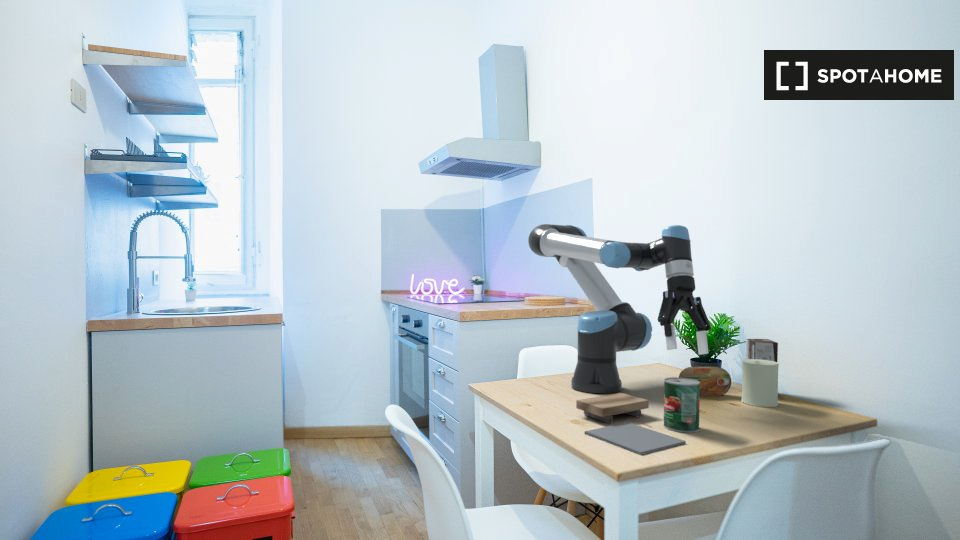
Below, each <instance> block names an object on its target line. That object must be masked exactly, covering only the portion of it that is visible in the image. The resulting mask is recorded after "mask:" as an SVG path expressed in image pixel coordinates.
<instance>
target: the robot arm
mask: <svg viewBox="0 0 960 540" xmlns="http://www.w3.org/2000/svg"><path fill="white" fill-rule="evenodd" d="M527 243H528V246H529V248H530V250H531V252H532V253H533V254H535V255H537V256H540V257H547V258H549V257H550V258H555V259H556V260H557V262H558V264H559V265H560V266H561V267H563V268H567V270H568V271H569V272H570V274H571V275H572V277H573V278H574V279H575V281H576V283H577V284H578V286H579V287H580V288H581V290H582V291H583V293H584V294H585V296H586V297H587V299H588V300H589V302H590V303H591V304H592V306H593V308H594V309H595V310H592V311H587V312H584V313H582V314H580V315H579V317H578V321H577V323H578V324H577V362H576V366H575V369H574V373H573V376H572V378H571V385H570V386H571V389H573V390H576V391H578V392H583V393H584V392H585V393H591V394H616V393H620V392H621V391H622V389H623V383H622V380H621V379H620V375H619V374H620V372H619V369H618V367H617V353H619V352H629V351H631V352H633V351H637V350H641V349H644V348H645V347H647V346H648V344H649V343H650V341H651V339H652V336H653V335H652V332H653V327H652V323H651V320H650V319H649V317H648V316H646V314H644V313H641V312H636V310H635V309H634V308H633V307H632V305H631V304H630V303H629V302H627V301H625V302H624V301H623V300H622V299H620V297H619V295H618V294H617V293H616V291H615V290H614V289H613V287H612V286H611V284H610V283H609V282H608V280H607V278H606V277H605V276H604V275H603V274H602V272H601V270H600V269H599V268H598V266H597V265H596V264H595V263H597V264H600V265H604V266H606V267H607V268H614V269H621V268H622V269H624V268H628V269H629V268H630V269H634V270H635V271H637V272H643V271H648V270H650V269H654V268H657V267H659V266H662V265H664V267H665V270H664V271H665V278H666V279H667V280H666V285H667V287H666V289H667V290H665V291H663V292H662V301H661V304H660V305H661V306H660V309H659V312H658V316H657V322H659V325H660V326H661V327H662V326H663V330H664V336H665V341H666V342H665V344H666V350H667V351H671V350H677V349H678V345H677V343H678V342H677V337H676V336H677V335H676V326H675V324H673V322H674V320H676V319H675V318H676V317H677V315H678V313H679V311H680V310H681V311H683V312H685V314H687V315H688V317H689V318H690V320H691V322H692V323H693V325H694V326H695V328H696V330H697V331H696V332H695V334H696V336H695V337H696V343H697V351H698V352H697V353H698V356H701V355H702V356H703V355H708V354H709V345H708V335H707V332H708V331H710V330H712V326H711V323H710V321H709V317H708V316H707V313H706V311H705V308H704V307H703V304H702V303H703V302H702V298H701V297H700V296H696V297H694V291H695V290H696V283H695V282H696V281H695V277H694V273H695V272H694V266H693V259H692V249H691V247H692V245H691V239H690V232H689V229H688V228H687V227H686V226H684V225H679V224H678V225H677V224H676V225H675V224H674V225H669V226H666V227H664V229H662V231H661V238H659V239H656V240H654V241H651V242H647V243H645V242H625V241H616V240H610V239H603V238H597V237H596V238H595V237H589V236H587V234H586V232H585V231H584V230H583V229H582V228H580V227H578V226H574V225H571V224H566V225H563V224H561V225H560V224H549V223H546V224H545V223H543V224H539V225H537V226H535V227H534V228H533V229H532V230H531V231H530V233H529V235H528V242H527Z"/></svg>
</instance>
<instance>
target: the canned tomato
mask: <svg viewBox="0 0 960 540" xmlns="http://www.w3.org/2000/svg"><path fill="white" fill-rule="evenodd" d="M663 381H664V382H663V383H664V385H663V386H664V388H663V392H664V393H663V427H664V428H665V429H667V430H669V431H673V432H677V433H684V432H685V433H687V434H689V433H690V434H691V432H692V433H696V432H699V431H700V397H701V396H699V395H700V382H699V381H697V380H694V379H689V378H679V376H678V377H677V376H676V377H675V376H674V377H671V376H670V377H666V378H664V380H663ZM685 433H684V434H685Z"/></svg>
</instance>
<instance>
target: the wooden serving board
mask: <svg viewBox="0 0 960 540" xmlns="http://www.w3.org/2000/svg"><path fill="white" fill-rule="evenodd" d="M649 403H650V400H649V399H645V398H641V397H638V396H634V395H630V394H627V393H623V392H617V393H611V394H607V395H602V396H601V395H600V396H595V397H590V398H589V397H588V398H582V399H576V405H575V406H576V409H578V410H580V411H582V412H583V415H584V416H586V417H587V416H588V417H590V418H593V419H597V420H598V421H602V422H605V423H608V424H611V423H613V420H614V416H615V415H619V414H621V415H622V414H626V415H629V416H632V417H636V418H640V417H641V416H642V410H645V409H647V410H648V409H649V408H650V407H649Z"/></svg>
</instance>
